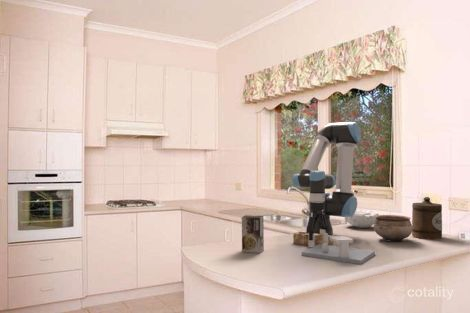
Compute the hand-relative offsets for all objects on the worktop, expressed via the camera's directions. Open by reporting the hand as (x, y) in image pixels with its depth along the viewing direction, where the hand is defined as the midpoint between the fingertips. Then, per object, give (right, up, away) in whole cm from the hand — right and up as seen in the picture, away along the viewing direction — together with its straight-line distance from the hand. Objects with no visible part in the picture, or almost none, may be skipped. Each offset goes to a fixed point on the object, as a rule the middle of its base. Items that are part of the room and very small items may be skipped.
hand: (317, 244), depth 193 cm
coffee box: (-33, 0, -13) cm, 35 cm away
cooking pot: (+42, -1, +11) cm, 44 cm away
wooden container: (+65, -1, +21) cm, 68 cm away
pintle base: (+5, 0, -21) cm, 22 cm away
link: (-2, 0, +2) cm, 2 cm away
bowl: (+39, -1, +51) cm, 64 cm away
